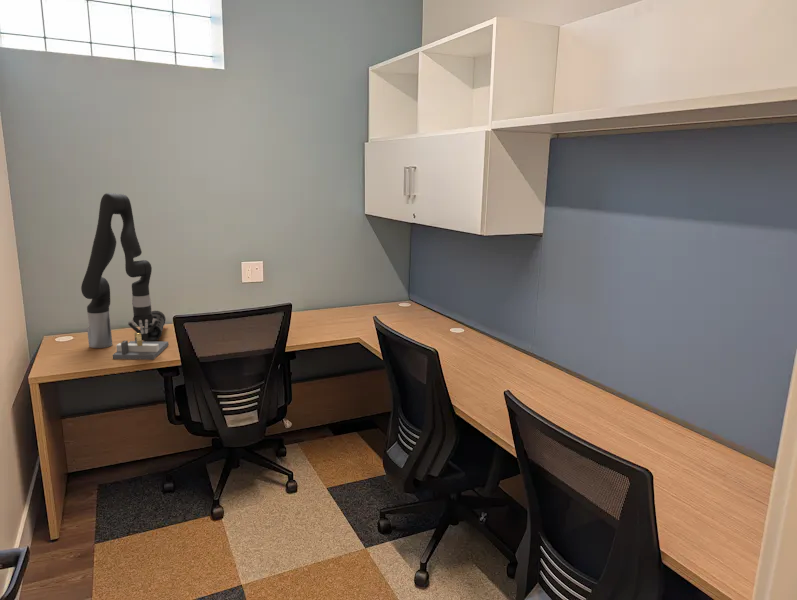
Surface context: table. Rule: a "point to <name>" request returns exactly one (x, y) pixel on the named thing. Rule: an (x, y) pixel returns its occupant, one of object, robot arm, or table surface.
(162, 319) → the muzzle brake
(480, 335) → the table surface
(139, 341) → the swing bar
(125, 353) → the lock board
